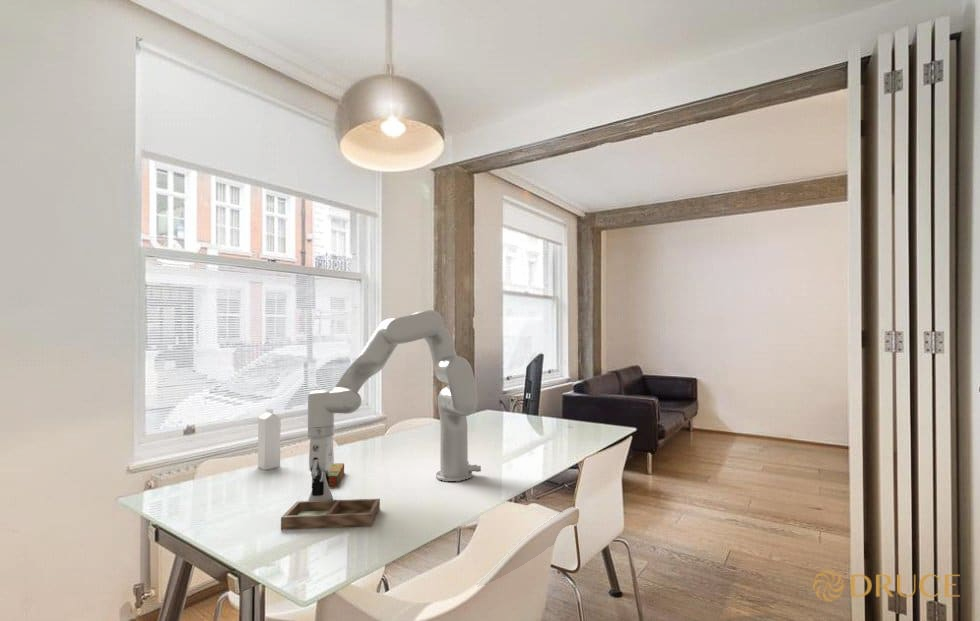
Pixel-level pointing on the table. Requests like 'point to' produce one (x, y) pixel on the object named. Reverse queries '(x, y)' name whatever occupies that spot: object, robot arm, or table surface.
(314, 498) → the flask
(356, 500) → the holder
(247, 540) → the table surface
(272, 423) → the milk
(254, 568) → the table surface
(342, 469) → the carton
